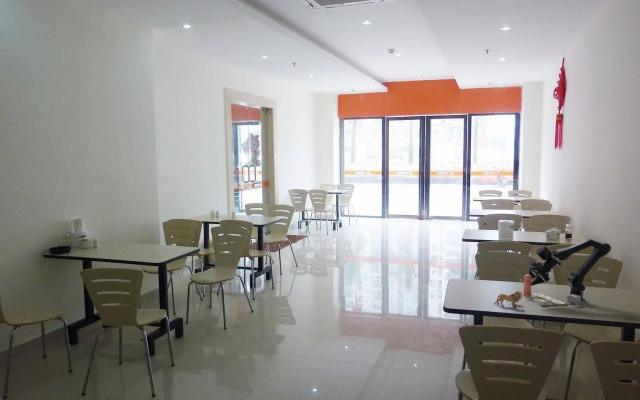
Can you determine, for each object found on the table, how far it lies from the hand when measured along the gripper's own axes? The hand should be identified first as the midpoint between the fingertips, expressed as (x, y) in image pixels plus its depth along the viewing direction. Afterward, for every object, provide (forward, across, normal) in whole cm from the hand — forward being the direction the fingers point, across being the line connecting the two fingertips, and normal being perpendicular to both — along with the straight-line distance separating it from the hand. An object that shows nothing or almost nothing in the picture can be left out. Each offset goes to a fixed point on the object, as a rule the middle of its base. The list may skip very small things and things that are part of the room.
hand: (528, 283), depth 287 cm
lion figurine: (+19, +18, -6) cm, 27 cm away
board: (+2, +7, +10) cm, 13 cm away
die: (-9, +12, +22) cm, 26 cm away
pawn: (+5, 0, +5) cm, 7 cm away
